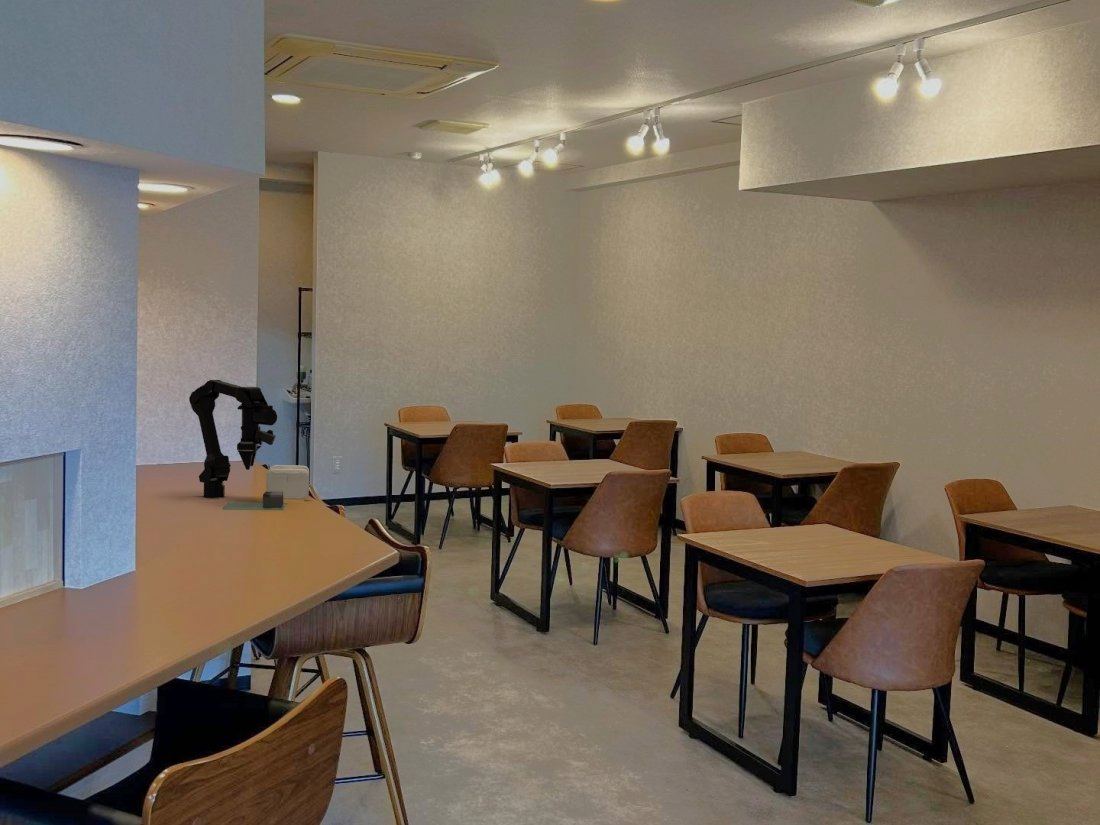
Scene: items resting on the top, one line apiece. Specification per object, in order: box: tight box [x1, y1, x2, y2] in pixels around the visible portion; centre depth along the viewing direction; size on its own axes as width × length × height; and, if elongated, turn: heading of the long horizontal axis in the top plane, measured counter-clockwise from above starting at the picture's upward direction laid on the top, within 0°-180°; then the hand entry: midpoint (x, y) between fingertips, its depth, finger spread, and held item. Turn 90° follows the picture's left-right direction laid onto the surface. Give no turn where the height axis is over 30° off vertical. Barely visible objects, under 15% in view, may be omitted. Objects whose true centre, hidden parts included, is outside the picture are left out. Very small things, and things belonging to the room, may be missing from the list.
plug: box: [262, 491, 284, 508], centre depth 351 cm, size 6×7×4 cm
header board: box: [221, 501, 288, 511], centre depth 350 cm, size 20×14×4 cm
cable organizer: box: [265, 464, 310, 500], centre depth 372 cm, size 15×11×12 cm
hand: (249, 467), depth 356 cm, fingers open, 9 cm apart
